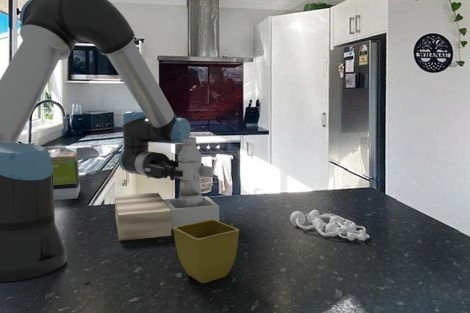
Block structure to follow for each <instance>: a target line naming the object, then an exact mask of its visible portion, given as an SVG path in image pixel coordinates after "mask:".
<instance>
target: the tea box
mask: <svg viewBox="0 0 470 313" xmlns="http://www.w3.org/2000/svg"><path fill="white" fill-rule="evenodd" d="M49 153H50V156H51V163H52V166H53V190H54V201H59V200H60V201H61V200H72V199H78V197H79V194H80V190H81V184H80V183H81V182H80V169H79V157H78V155H79V154H78V151H54V152H52V151H51V152H49Z"/></svg>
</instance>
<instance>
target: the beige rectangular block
mask: <svg viewBox="0 0 470 313" xmlns="http://www.w3.org/2000/svg"><path fill="white" fill-rule="evenodd" d="M114 207H115V208H114V212H115V221H116V228H117V229H116V230H117V237H118V241H119V242H120V241H129V240H130V241H131V240H138V239H139V240H141V239H148V238H159V237H170V236H172V230H171V210H170V209H169V207H168V206H167V205H166V203H165V202H164V198H162V196H161V194H160V193H159V192H150V193H149V192H147V193H138V194H137V193H134V194H123V195H122V194H120V195H119V194H118V195H114Z"/></svg>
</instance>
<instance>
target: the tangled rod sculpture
mask: <svg viewBox="0 0 470 313" xmlns="http://www.w3.org/2000/svg"><path fill="white" fill-rule="evenodd" d="M306 217H307V221H308V222H309V223H310V224H312V225H308V226H305V225H304V224H305V222H306ZM289 218H290V222H291V224H292V225H293V226H295V227H298V228H301V229H302V230H310V229H316V231H317V232H318V233H319V234H320V236H321V235H322V236H323V237H333V238H335V237H337V236H339V237H341V238H343V239H347V240H349V241H354V240H356V239H358V240H359V241H361V240H362V241H366V240H367V239H369V238H370V235H369V234H368V233H366V232H367V229H366V228H365V226H362V225H356V223H355V222H354V221H351V220H350V219H346V218H344V217H341V216H339V215H336V214H334V213H327V212H326V213H324V214H320V212H319V210H318V209H313V210H311V211H310V212H309V213H305V214H304V212H302V211H299V210H296V211H293V212H292V213H291V214H290V217H289ZM326 218H328V219H329V222H328V223H327V222H324V220H323V219H326ZM357 228H359V229H360V230H357ZM323 230H324V231H323Z"/></svg>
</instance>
